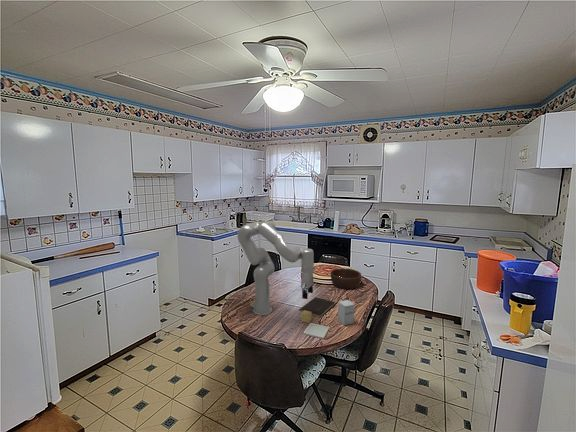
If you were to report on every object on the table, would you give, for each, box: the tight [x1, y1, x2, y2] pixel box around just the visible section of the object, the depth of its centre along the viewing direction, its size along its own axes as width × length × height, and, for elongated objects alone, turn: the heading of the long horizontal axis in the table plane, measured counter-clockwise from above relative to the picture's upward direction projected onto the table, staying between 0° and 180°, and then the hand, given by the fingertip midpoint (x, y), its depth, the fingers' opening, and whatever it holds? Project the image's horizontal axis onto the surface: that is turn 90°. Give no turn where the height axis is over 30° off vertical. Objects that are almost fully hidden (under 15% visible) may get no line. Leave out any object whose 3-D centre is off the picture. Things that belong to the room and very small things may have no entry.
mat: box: [302, 322, 330, 340], centre depth 167 cm, size 12×12×1 cm
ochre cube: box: [300, 310, 313, 324], centre depth 180 cm, size 5×5×5 cm
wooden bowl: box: [330, 267, 362, 290], centre depth 238 cm, size 25×25×10 cm
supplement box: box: [337, 299, 355, 326], centre depth 178 cm, size 7×7×13 cm
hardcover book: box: [298, 296, 335, 318], centre depth 197 cm, size 16×23×2 cm
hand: (307, 295), depth 178 cm, fingers open, 9 cm apart
